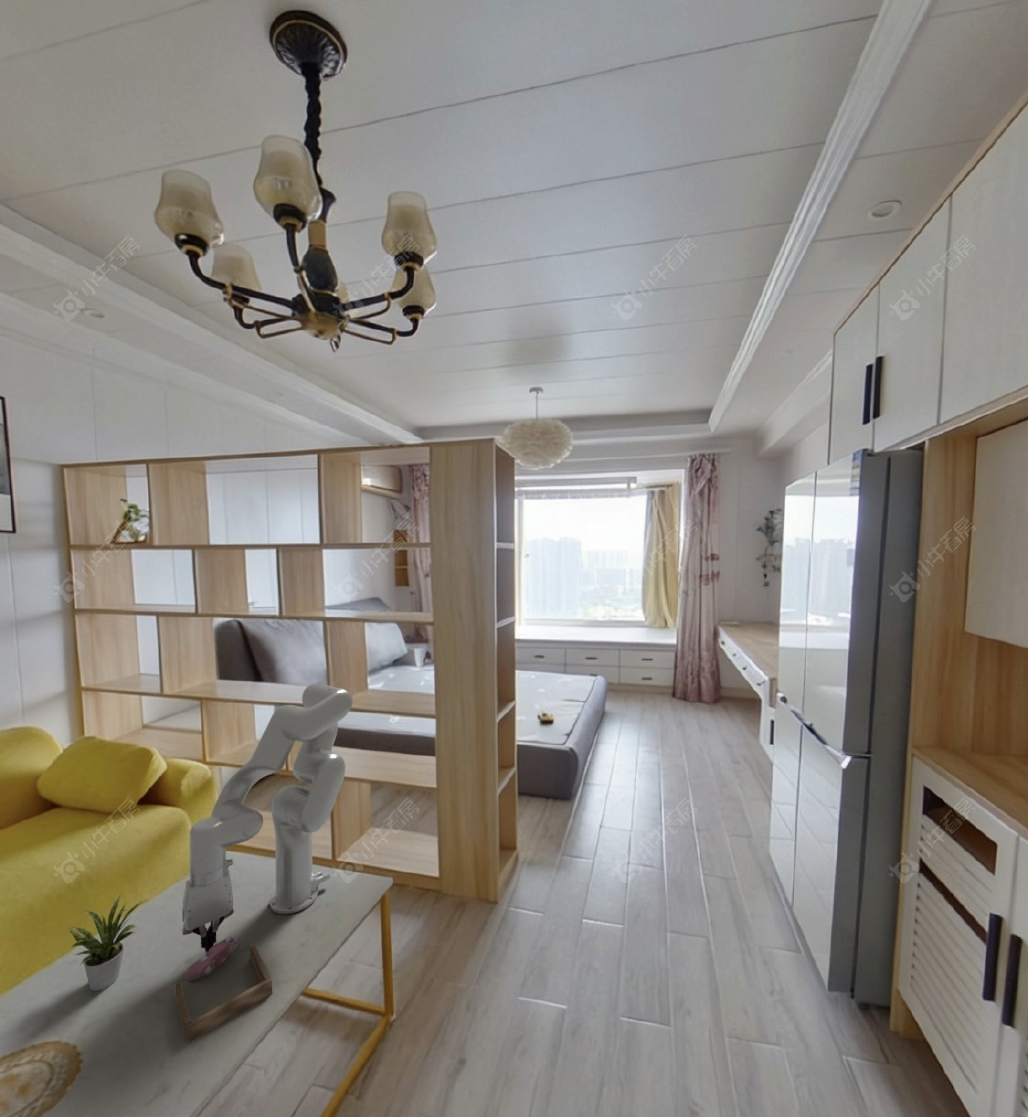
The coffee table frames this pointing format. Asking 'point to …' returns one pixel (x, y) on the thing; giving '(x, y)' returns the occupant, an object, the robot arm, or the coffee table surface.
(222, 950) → the video game controller
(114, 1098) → the coffee table surface
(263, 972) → the dock bay
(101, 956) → the house plant
